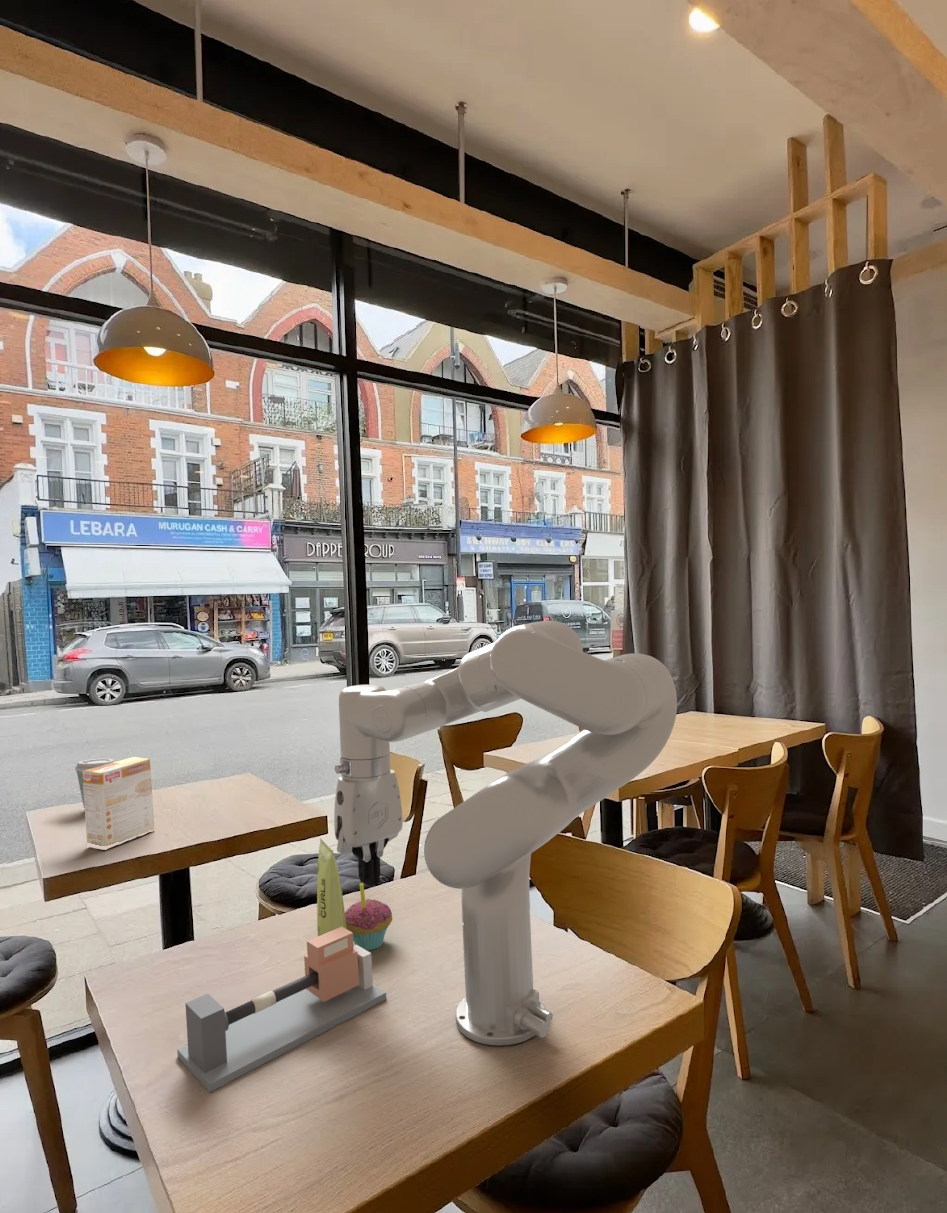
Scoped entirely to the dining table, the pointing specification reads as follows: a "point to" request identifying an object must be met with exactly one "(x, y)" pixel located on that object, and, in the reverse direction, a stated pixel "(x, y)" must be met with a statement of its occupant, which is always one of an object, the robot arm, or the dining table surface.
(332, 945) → the sleeve
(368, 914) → the cupcake
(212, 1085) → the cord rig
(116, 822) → the coffeecake box
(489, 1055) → the dining table surface
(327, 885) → the tube
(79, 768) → the disposable coffee cup
